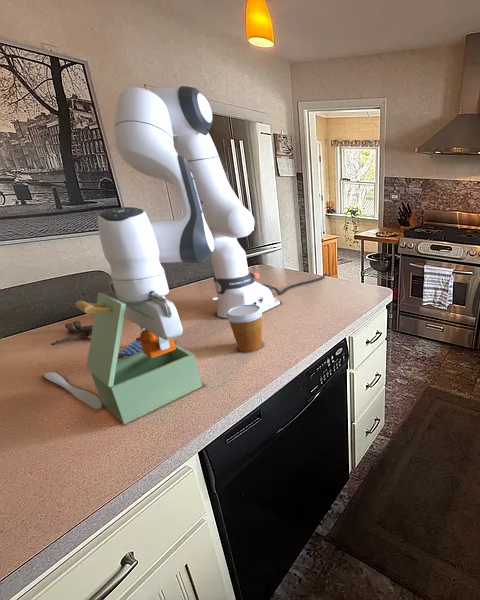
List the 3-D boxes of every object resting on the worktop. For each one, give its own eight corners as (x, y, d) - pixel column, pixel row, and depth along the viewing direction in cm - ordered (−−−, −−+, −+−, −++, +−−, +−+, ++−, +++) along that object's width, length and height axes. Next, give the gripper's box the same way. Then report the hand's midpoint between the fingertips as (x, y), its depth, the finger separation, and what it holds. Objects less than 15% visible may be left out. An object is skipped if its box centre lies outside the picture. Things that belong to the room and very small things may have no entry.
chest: (178, 371, 84) (170, 341, 81) (202, 386, 78) (194, 354, 75) (102, 403, 72) (89, 369, 69) (124, 424, 66) (111, 388, 63)
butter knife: (57, 368, 83) (41, 373, 81) (109, 403, 71) (92, 411, 69) (58, 370, 83) (42, 376, 81) (110, 406, 72) (92, 413, 69)
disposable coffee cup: (233, 342, 99) (226, 306, 95) (266, 337, 103) (261, 301, 98) (231, 357, 91) (224, 318, 87) (268, 351, 94) (262, 313, 90)
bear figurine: (104, 311, 112) (128, 315, 106) (108, 323, 113) (132, 327, 107) (32, 332, 96) (55, 338, 90) (38, 345, 98) (61, 352, 92)
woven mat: (115, 362, 88) (112, 355, 87) (137, 343, 98) (136, 337, 97) (157, 359, 89) (155, 352, 89) (175, 341, 99) (174, 335, 98)
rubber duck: (167, 344, 77) (161, 321, 75) (176, 349, 75) (170, 325, 73) (138, 355, 73) (130, 330, 70) (146, 360, 71) (138, 335, 68)
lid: (103, 292, 68) (70, 290, 64) (126, 304, 62) (92, 303, 58) (91, 367, 69) (58, 371, 65) (113, 386, 63) (79, 391, 59)
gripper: (183, 293, 66) (196, 352, 71) (139, 276, 76) (154, 329, 81) (147, 302, 61) (164, 365, 66) (105, 282, 71) (123, 338, 76)
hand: (158, 345), depth 74 cm, fingers closed on rubber duck, 4 cm apart
